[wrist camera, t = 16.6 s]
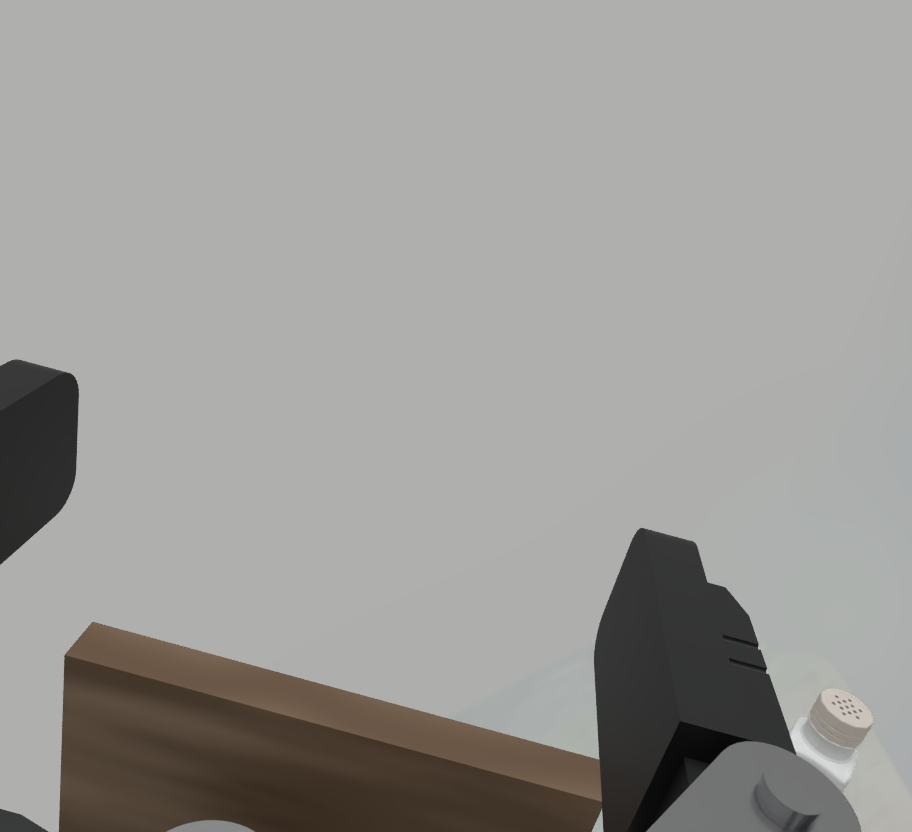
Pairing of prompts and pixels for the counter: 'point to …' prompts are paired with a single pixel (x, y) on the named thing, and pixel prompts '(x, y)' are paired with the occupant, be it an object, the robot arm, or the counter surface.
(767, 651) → the counter surface
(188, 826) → the container
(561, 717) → the counter surface
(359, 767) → the board
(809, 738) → the pepper shaker
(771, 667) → the counter surface
